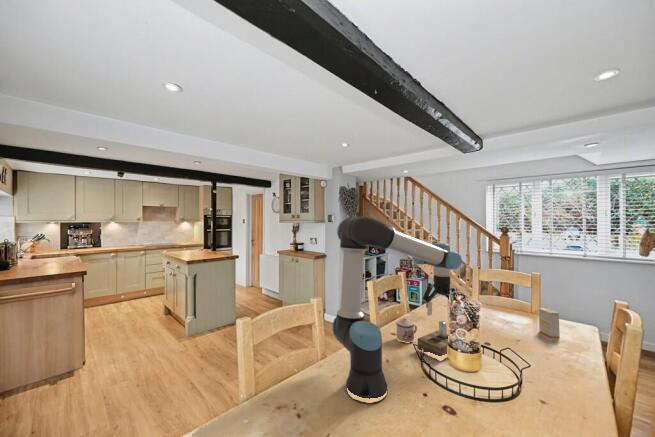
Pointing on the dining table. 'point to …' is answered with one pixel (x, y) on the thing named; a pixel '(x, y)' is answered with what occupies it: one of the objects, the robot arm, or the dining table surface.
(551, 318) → the supplement box
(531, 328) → the dining table surface
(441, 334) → the pin
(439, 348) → the bore block
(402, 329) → the teacup with lid
